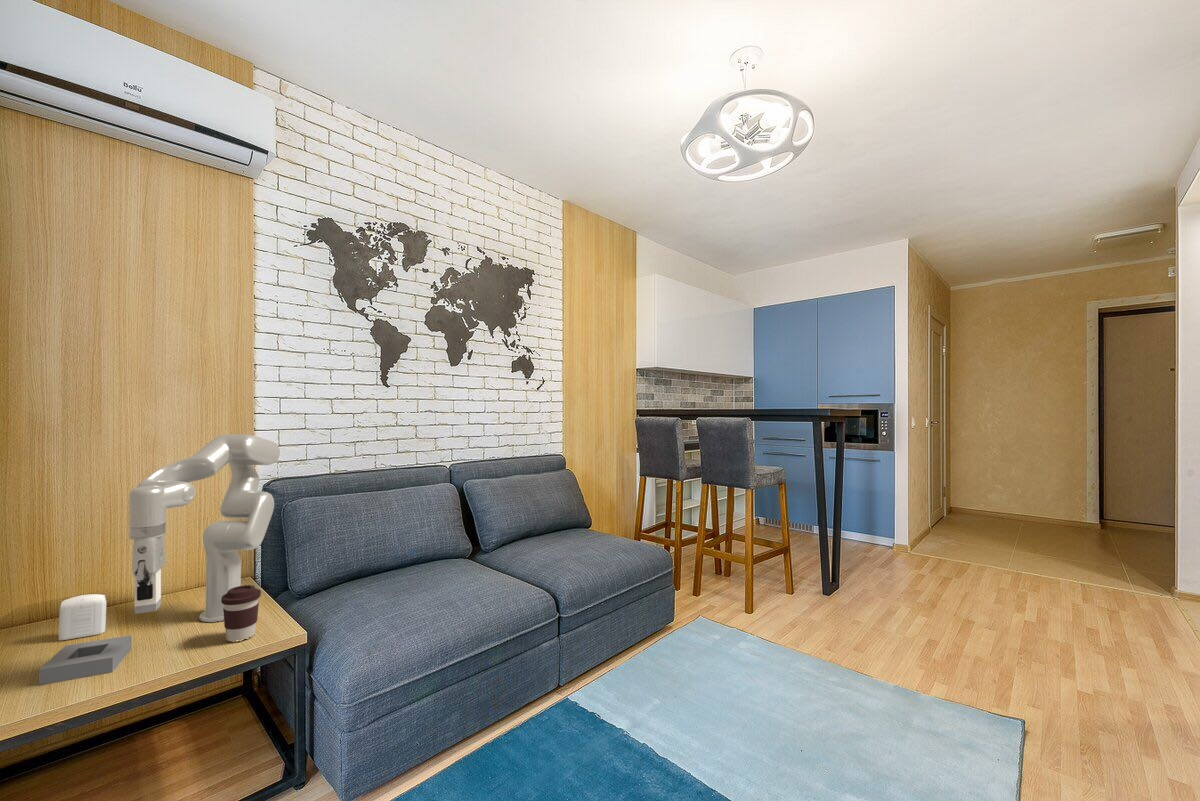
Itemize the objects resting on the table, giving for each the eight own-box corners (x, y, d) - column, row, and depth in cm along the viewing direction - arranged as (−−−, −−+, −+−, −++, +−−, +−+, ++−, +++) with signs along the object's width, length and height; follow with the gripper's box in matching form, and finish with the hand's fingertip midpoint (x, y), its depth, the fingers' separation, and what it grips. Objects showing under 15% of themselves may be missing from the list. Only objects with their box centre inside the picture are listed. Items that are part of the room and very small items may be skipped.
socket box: (131, 648, 147) (131, 635, 147) (112, 672, 135) (112, 657, 135) (65, 659, 141) (65, 645, 141) (39, 685, 128) (39, 669, 128)
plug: (161, 604, 144) (160, 562, 143) (156, 610, 140) (155, 567, 139) (140, 607, 142) (140, 565, 141) (134, 613, 138) (134, 570, 137)
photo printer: (107, 629, 159) (108, 590, 159) (103, 634, 156) (104, 594, 156) (61, 637, 154) (61, 596, 154) (56, 642, 150) (56, 601, 150)
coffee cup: (254, 627, 162) (254, 580, 162) (264, 636, 156) (265, 588, 156) (216, 638, 154) (217, 589, 154) (226, 648, 148) (227, 597, 148)
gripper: (155, 537, 134) (155, 605, 135) (173, 522, 149) (173, 583, 150) (118, 541, 131) (118, 610, 131) (140, 525, 146) (141, 587, 146)
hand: (148, 595), depth 141 cm, fingers closed on plug, 4 cm apart
